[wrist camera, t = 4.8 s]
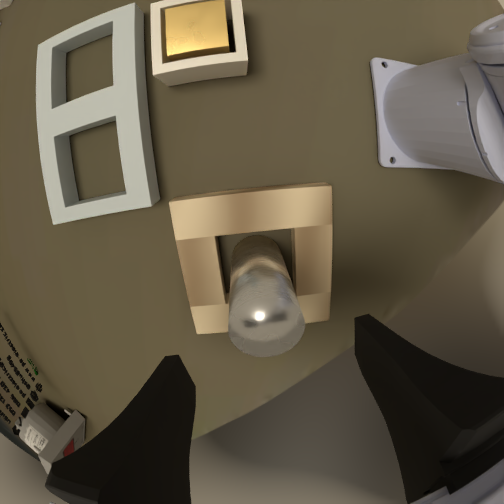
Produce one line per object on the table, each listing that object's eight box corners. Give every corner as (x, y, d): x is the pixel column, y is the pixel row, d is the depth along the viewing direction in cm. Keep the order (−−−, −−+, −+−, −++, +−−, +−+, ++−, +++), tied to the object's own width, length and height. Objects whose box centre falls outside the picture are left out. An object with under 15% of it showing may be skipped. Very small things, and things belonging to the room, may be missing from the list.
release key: (226, 19, 13) (224, -1, 10) (230, 61, 14) (228, 45, 11) (176, 27, 13) (165, 9, 10) (178, 68, 14) (167, 55, 11)
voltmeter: (111, 443, 30) (97, 494, 21) (60, 432, 31) (43, 475, 21) (12, 296, 20) (-41, 352, 11) (-30, 300, 21) (-72, 342, 11)
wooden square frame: (324, 182, 18) (331, 185, 16) (324, 309, 22) (329, 319, 20) (174, 197, 18) (169, 202, 16) (199, 322, 22) (197, 334, 20)
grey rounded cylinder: (279, 232, 19) (305, 292, 12) (282, 278, 20) (304, 352, 13) (228, 237, 19) (222, 301, 12) (234, 283, 20) (233, 360, 13)
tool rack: (143, 13, 13) (134, 2, 11) (160, 199, 18) (151, 206, 16) (52, 50, 12) (38, 45, 11) (67, 216, 18) (53, 224, 16)
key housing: (239, 12, 13) (239, -11, 10) (246, 75, 15) (248, 60, 12) (164, 24, 13) (150, 3, 10) (168, 86, 15) (152, 75, 12)
